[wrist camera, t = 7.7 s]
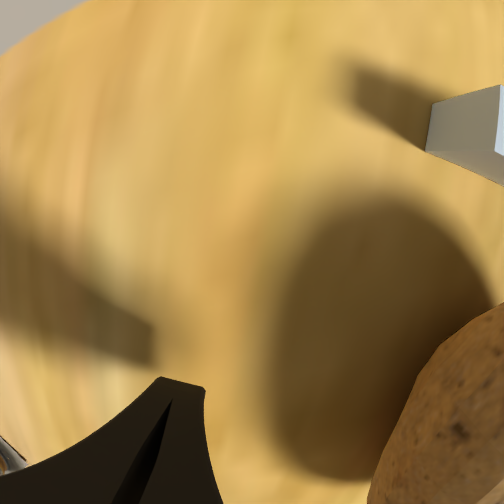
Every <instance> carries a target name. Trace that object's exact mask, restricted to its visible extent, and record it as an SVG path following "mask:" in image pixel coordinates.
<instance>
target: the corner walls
mask: <svg viewBox="0 0 504 504" xmlns="http://www.w3.org/2000/svg"><path fill="white" fill-rule="evenodd" d="M425 152H427V153H430V154H432V155H435V156H437V157H440V158H442V159H445V160H447V161H449V162H452V163H454V164H457V165H459V166H461V167H463V168H466V169H468V170H470V171H472V172H475V173H477V174H479V175H481V176H483V177H485V178H487V179H490V180H492V181H494V182H496V183H498V184H500V185H502V186H504V86H502V85H497V86H493V87H489V88H485V89H482V90H478V91H474V92H471V93H467V94H464V95H460V96H457V97H453V98H450V99H447V100H443V101H440V102H437V103H434V104H432V111H431V118H430V124H429V130H428V136H427V142H426V147H425Z"/></svg>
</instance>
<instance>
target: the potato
mask: <svg viewBox="0 0 504 504" xmlns="http://www.w3.org/2000/svg"><path fill="white" fill-rule="evenodd" d="M367 504H504V302H503V303H502V304H500V305H498V306H496V307H494V308H493V309H491V310H489V311H487V312H485V313H483V314H482V315H480V316H478V317H476V318H474V319H472V320H471V321H470V322H468V323H467V324H466V325H465V326H463V327H462V328H461V329H460V330H458V331H457V332H456V333H455V334H453V335H452V336H451V337H449V338H448V339H447V340H446V341H444V342H443V343H442V344H440V345H439V346H438V348H437V349H436V351H435V352H434V354H433V355H432V356H431V358H430V359H429V361H428V362H427V363H426V365H425V366H424V367H423V369H422V370H421V371H420V373H419V374H418V376H417V379H416V381H415V384H414V386H413V389H412V391H411V393H410V396H409V398H408V400H407V403H406V405H405V407H404V409H403V411H402V414H401V416H400V418H399V420H398V422H397V424H396V426H395V428H394V430H393V432H392V434H391V436H390V438H389V440H388V442H387V444H386V446H385V448H384V450H383V453H382V455H381V458H380V460H379V463H378V466H377V468H376V471H375V473H374V476H373V479H372V482H371V486H370V490H369V493H368V497H367Z"/></svg>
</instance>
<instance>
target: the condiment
mask: <svg viewBox="0 0 504 504" xmlns="http://www.w3.org/2000/svg"><path fill="white" fill-rule="evenodd" d="M8 458H9V459H8ZM27 465H28V464H27V463H26V462H25V461H24V460H23V459H22V458H21V457H19V455H18V454H17V452H15V451H14V450H13V449H12V448H11V447H10V446H9V445H8V444H7V443H6V442H5V441H4V440H3V439H2V438H1V437H0V476H1V475H5V474H8V473H11V472H15V471H18V470H21V469H23V468H25V467H26V466H27Z"/></svg>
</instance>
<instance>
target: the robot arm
mask: <svg viewBox="0 0 504 504" xmlns="http://www.w3.org/2000/svg"><path fill="white" fill-rule="evenodd" d="M205 392H206V391H205V389H204V388H203V387H201V386H197V385H192V384H188V383H184V382H180V381H176V380H172V379H169V378H165V377H158V378H157V379H156V380H155V381H154V382H153V383H152V384H151V385H150V386H149V387H148V388H147V389H146V390H145V391H144V392H143V393H142V394H141V395H140V396H139V397H138V398H136V399H135V400H134V401H133V402H132V403H131V404H130V405H129V406H127V407H126V408H125V409H124V410H123V411H121V412H120V413H119V414H118V415H117V416H115V417H114V418H113V419H112V420H110V421H109V422H108V423H106V424H105V425H103V426H102V427H101V428H99V429H98V430H96V431H95V432H94V433H92V434H91V435H89V436H88V437H86V438H85V439H83V440H82V441H80V442H78V443H77V444H75V445H73V446H71V447H70V448H68V449H66V450H64V451H62V452H60V453H59V454H56V455H54V456H52V457H50V458H48V459H46V460H44V461H41V462H39V463H37V464H34V465H32V466H29V467H27V468H24V469H21V470H18V471H15V472H11V473H8V474H5V475H1V476H0V504H223V501H222V499H221V496H220V493H219V490H218V487H217V484H216V481H215V477H214V474H213V470H212V466H211V462H210V457H209V453H208V447H207V441H206V434H205V426H204V398H205Z"/></svg>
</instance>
